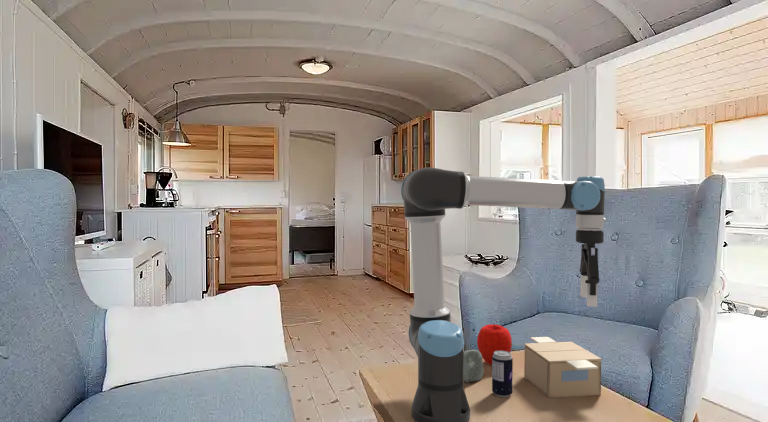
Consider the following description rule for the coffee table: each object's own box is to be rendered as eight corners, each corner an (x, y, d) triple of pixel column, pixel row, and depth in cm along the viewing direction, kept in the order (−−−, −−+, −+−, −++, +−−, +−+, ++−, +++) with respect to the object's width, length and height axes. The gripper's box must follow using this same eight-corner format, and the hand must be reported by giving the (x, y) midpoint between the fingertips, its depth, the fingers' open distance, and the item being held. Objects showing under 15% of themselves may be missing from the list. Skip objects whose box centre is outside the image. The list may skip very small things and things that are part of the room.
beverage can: (512, 399, 136) (513, 356, 136) (492, 397, 137) (492, 355, 137) (511, 391, 142) (512, 350, 141) (491, 389, 143) (492, 349, 142)
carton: (548, 398, 137) (548, 363, 137) (524, 377, 153) (524, 346, 153) (600, 395, 139) (601, 361, 139) (571, 374, 155) (572, 344, 155)
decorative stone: (490, 385, 146) (492, 353, 152) (458, 374, 144) (462, 342, 150) (469, 392, 157) (471, 362, 162) (439, 382, 154) (443, 352, 160)
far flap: (536, 353, 145) (536, 351, 145) (516, 339, 159) (516, 337, 159) (585, 351, 147) (585, 349, 147) (561, 337, 161) (561, 336, 161)
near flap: (560, 370, 130) (560, 368, 130) (536, 353, 145) (536, 351, 145) (614, 367, 132) (614, 366, 132) (585, 351, 147) (585, 349, 147)
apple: (518, 368, 161) (519, 328, 160) (486, 371, 158) (486, 330, 158) (502, 357, 172) (502, 319, 172) (471, 359, 170) (471, 321, 169)
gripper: (611, 232, 129) (610, 311, 129) (596, 227, 153) (595, 294, 153) (581, 231, 131) (580, 309, 131) (571, 226, 155) (570, 292, 155)
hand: (588, 301), depth 142 cm, fingers open, 13 cm apart
